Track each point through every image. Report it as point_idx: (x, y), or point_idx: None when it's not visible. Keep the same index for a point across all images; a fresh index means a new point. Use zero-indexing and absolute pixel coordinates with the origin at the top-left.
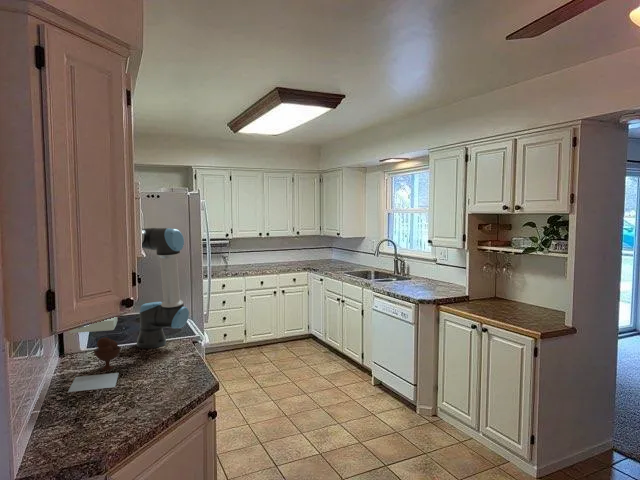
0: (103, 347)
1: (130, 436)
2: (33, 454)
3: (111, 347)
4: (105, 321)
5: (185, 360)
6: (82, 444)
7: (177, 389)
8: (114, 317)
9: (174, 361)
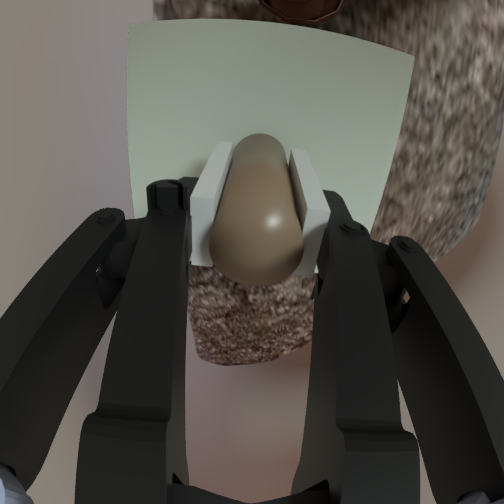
0: (290, 6)
1: (306, 340)
2: (199, 337)
3: (319, 5)
4: (316, 270)
5: (487, 56)
6: (251, 338)
7: (420, 226)
8: (373, 215)
9: (467, 44)
